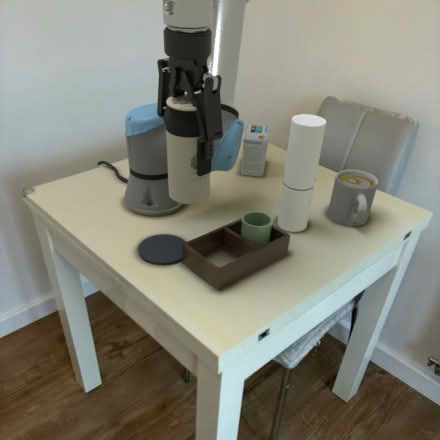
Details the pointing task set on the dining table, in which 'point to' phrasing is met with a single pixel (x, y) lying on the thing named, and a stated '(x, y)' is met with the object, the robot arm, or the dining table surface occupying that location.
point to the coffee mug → (352, 197)
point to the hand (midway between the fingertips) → (189, 165)
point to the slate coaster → (161, 249)
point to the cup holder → (240, 247)
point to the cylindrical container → (300, 171)
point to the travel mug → (184, 153)
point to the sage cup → (256, 228)
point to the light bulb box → (254, 150)
